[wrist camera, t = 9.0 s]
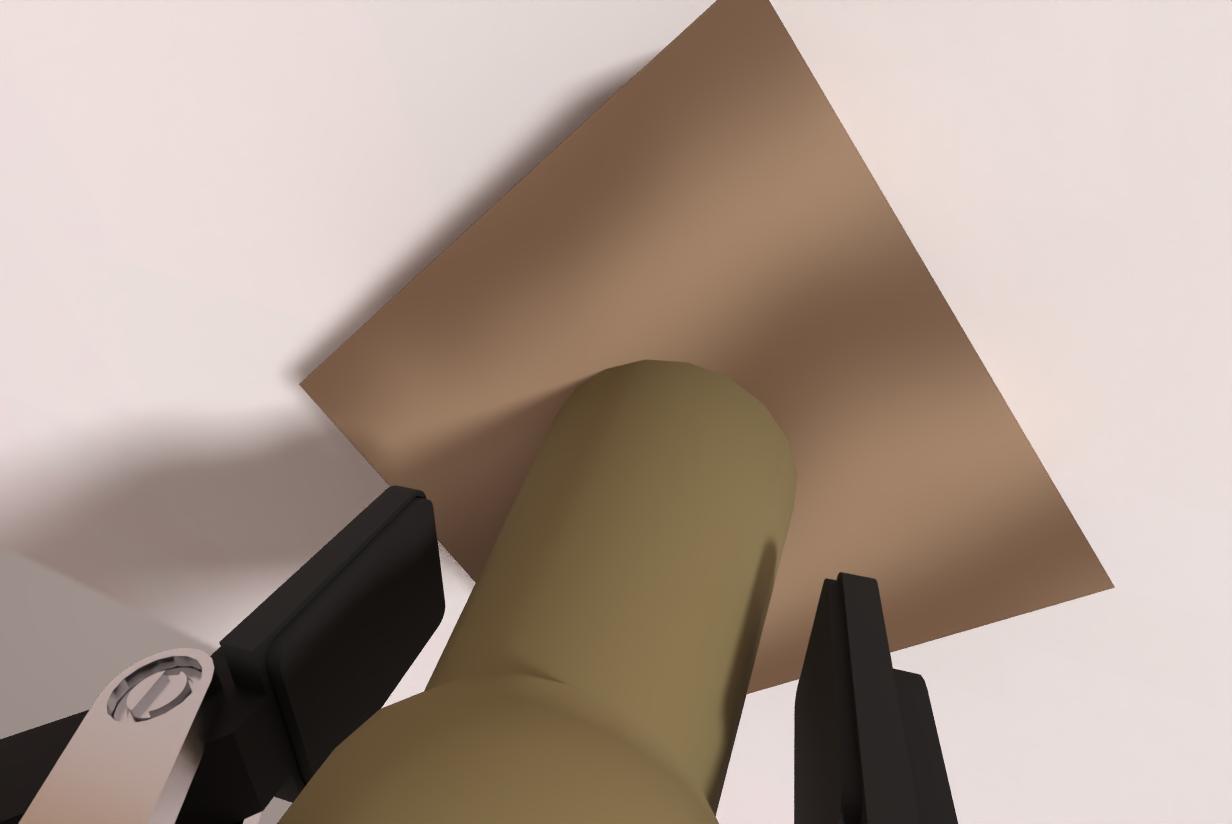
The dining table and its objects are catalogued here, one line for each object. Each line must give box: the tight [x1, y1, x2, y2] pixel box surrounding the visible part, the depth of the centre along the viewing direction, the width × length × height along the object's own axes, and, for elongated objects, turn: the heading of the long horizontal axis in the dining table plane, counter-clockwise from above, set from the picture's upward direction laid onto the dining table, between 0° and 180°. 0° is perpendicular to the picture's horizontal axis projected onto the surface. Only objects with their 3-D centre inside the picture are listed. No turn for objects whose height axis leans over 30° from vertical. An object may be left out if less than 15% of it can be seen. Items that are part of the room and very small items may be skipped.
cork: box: [277, 359, 797, 824], centre depth 10 cm, size 6×6×11 cm
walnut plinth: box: [299, 0, 1114, 694], centre depth 16 cm, size 14×14×4 cm
